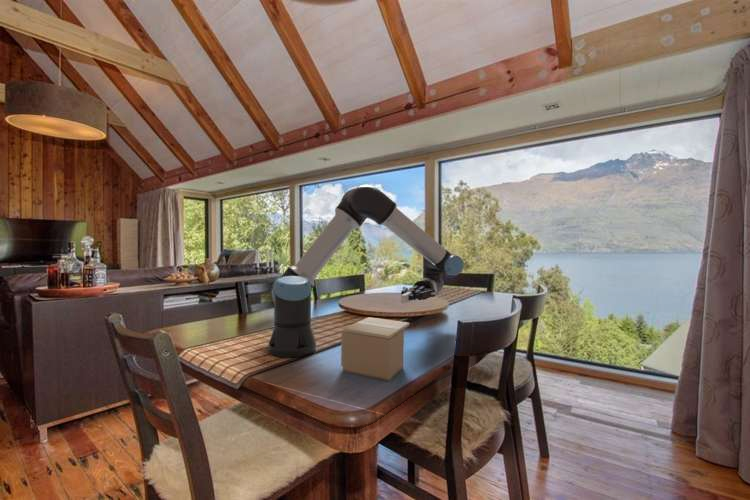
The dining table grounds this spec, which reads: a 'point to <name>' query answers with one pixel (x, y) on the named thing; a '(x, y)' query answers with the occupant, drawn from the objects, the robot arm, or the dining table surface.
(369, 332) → the flap
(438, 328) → the dining table surface
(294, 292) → the robot arm
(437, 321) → the dining table surface
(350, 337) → the carton
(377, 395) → the dining table surface
